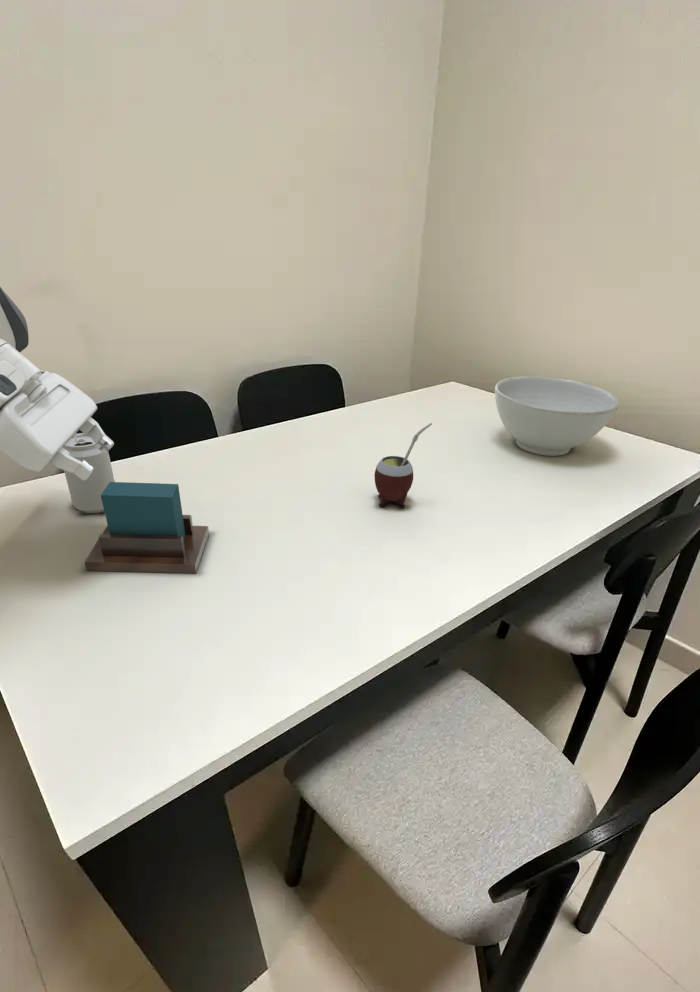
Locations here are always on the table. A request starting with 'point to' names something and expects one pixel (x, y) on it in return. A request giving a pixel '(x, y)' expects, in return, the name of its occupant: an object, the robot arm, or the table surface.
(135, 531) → the back pad
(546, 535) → the table surface
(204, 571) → the table surface
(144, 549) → the board
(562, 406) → the decorative bowl
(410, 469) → the mate gourd
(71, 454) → the can
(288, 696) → the table surface
